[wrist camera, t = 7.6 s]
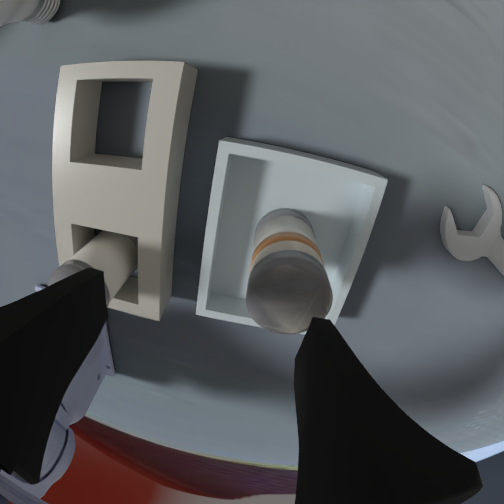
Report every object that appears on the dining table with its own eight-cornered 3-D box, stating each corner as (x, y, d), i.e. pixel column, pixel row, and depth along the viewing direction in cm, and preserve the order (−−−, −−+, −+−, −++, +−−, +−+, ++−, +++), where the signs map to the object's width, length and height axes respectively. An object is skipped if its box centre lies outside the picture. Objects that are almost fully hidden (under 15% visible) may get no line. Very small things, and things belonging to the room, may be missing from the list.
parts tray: (324, 315, 22) (328, 337, 20) (203, 293, 22) (195, 314, 19) (373, 170, 17) (387, 179, 15) (226, 136, 17) (219, 140, 15)
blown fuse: (308, 265, 20) (322, 337, 13) (252, 259, 20) (242, 330, 13) (317, 211, 18) (341, 268, 12) (257, 205, 18) (249, 258, 12)
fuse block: (171, 296, 22) (159, 321, 19) (82, 274, 22) (64, 293, 19) (198, 69, 15) (184, 62, 12) (87, 68, 15) (60, 66, 12)
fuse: (145, 272, 21) (104, 333, 15) (102, 262, 21) (54, 315, 15) (146, 226, 20) (97, 279, 13) (101, 217, 20) (43, 263, 13)
